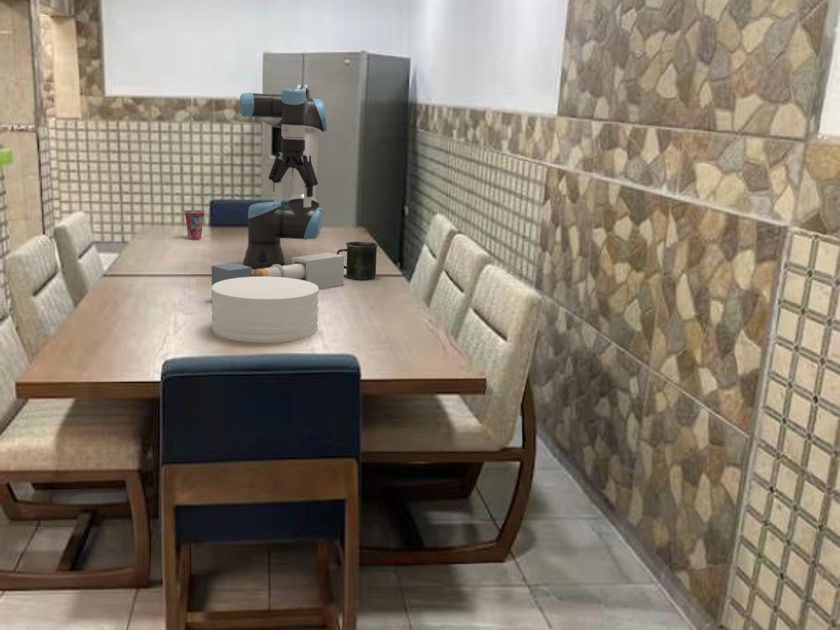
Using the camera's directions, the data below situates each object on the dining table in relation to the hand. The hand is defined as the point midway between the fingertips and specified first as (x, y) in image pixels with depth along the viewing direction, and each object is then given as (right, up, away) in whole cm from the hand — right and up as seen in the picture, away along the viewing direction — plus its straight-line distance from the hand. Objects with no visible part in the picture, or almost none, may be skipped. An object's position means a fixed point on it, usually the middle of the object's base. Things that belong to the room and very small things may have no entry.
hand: (292, 204), depth 274 cm
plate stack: (0, -40, -48) cm, 63 cm away
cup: (-55, -4, +86) cm, 102 cm away
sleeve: (+8, -26, +6) cm, 28 cm away
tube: (+2, -25, -1) cm, 25 cm away
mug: (+19, -23, +23) cm, 38 cm away
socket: (-15, -32, -20) cm, 40 cm away
